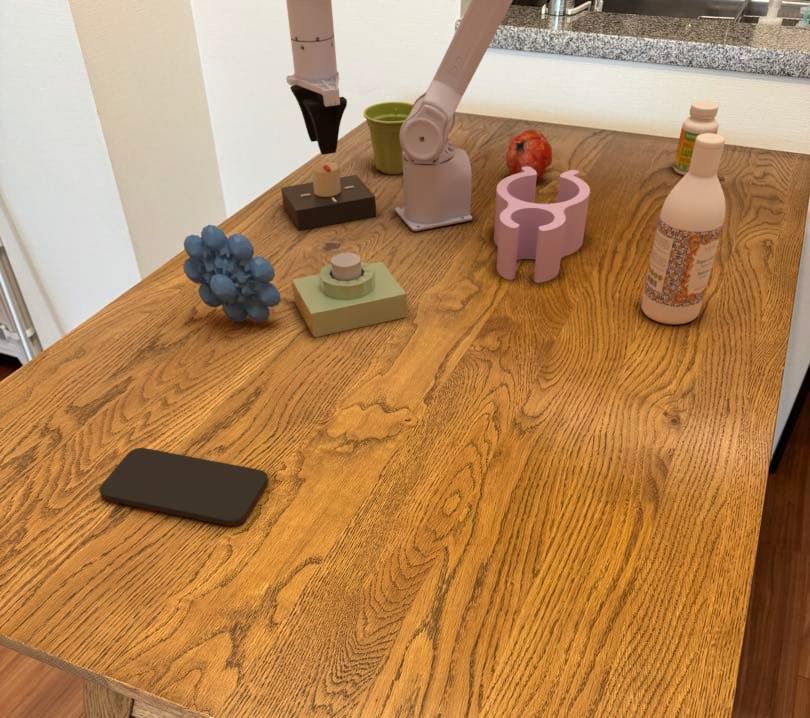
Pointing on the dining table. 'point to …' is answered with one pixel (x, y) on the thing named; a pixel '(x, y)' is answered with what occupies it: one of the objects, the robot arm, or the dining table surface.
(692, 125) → the supplement bottle
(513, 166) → the pomegranate
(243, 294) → the grapes
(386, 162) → the plant pot
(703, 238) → the bath foam
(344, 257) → the pink push button
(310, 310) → the green button base
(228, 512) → the phone
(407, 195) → the robot arm
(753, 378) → the dining table surface
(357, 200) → the dial panel
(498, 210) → the clip
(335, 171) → the dial
